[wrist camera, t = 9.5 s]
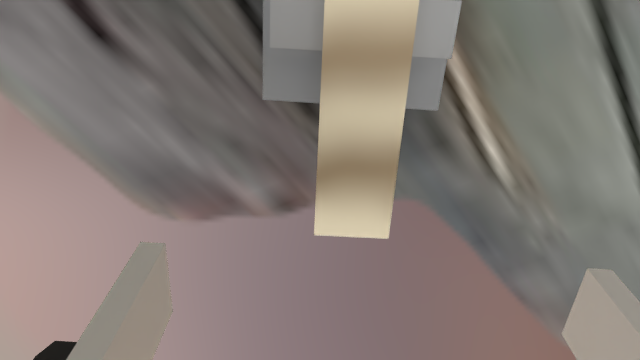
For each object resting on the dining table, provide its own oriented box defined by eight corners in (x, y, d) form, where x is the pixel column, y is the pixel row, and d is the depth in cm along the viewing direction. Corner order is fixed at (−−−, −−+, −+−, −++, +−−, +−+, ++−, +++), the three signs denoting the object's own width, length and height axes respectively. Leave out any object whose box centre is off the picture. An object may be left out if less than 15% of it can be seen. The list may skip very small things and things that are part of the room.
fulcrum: (265, -104, 28) (250, -114, 22) (468, -90, 28) (500, -98, 23) (264, 94, 33) (252, 123, 28) (434, 105, 33) (454, 136, 28)
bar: (334, -208, 21) (335, -249, 16) (425, -204, 21) (450, -244, 16) (316, 191, 30) (314, 235, 25) (379, 194, 30) (388, 238, 25)
